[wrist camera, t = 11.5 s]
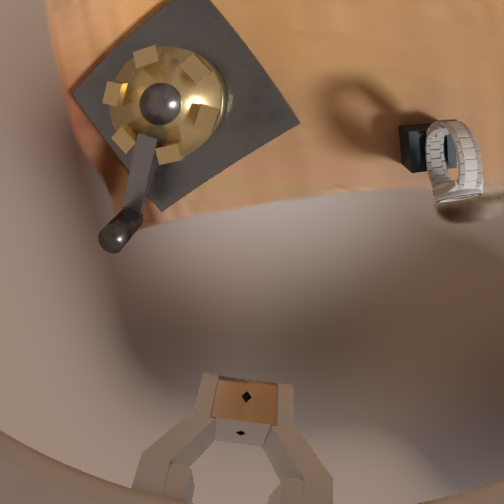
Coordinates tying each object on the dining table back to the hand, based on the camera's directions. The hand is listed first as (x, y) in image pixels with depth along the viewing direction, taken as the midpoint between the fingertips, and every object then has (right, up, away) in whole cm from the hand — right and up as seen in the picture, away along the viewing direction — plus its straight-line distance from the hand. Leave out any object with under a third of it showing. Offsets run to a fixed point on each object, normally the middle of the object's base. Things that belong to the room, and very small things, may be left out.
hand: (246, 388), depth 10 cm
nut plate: (-7, +21, +20) cm, 30 cm away
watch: (+19, +16, +20) cm, 32 cm away
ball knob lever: (-9, +16, +20) cm, 27 cm away
